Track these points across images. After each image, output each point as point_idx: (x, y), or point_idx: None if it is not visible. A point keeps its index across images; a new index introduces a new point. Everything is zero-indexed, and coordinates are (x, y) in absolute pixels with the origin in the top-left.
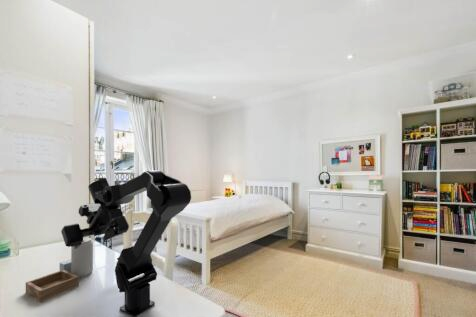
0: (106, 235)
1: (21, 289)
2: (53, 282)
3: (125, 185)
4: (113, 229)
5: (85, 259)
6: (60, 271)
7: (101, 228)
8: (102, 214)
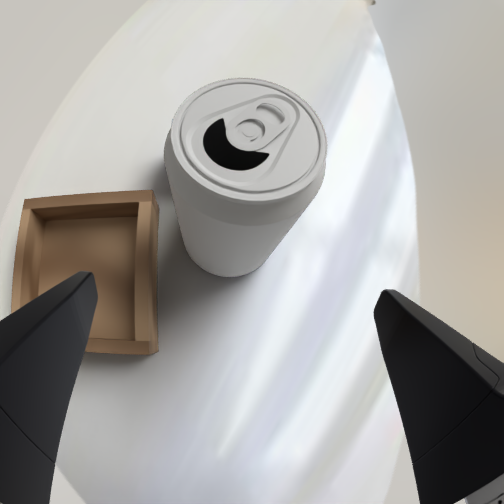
0: (418, 362)
1: (54, 172)
2: (110, 225)
3: None
4: (478, 488)
5: (227, 256)
6: (133, 201)
7: None
8: None
